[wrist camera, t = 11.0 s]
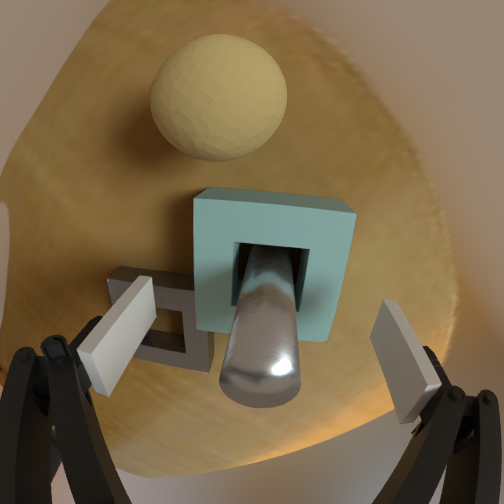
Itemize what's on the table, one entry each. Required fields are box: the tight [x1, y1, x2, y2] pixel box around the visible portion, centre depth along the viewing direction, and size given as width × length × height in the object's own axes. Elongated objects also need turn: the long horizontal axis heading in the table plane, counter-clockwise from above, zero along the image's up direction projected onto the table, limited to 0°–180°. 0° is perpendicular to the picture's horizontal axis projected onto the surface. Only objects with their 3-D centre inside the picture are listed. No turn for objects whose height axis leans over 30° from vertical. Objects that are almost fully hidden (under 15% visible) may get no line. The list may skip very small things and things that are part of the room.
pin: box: [219, 244, 301, 408], centre depth 16 cm, size 3×3×13 cm
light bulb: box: [149, 34, 287, 161], centre depth 13 cm, size 6×6×10 cm
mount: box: [107, 266, 214, 372], centre depth 24 cm, size 9×9×2 cm
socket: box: [193, 188, 356, 342], centre depth 20 cm, size 10×10×4 cm
